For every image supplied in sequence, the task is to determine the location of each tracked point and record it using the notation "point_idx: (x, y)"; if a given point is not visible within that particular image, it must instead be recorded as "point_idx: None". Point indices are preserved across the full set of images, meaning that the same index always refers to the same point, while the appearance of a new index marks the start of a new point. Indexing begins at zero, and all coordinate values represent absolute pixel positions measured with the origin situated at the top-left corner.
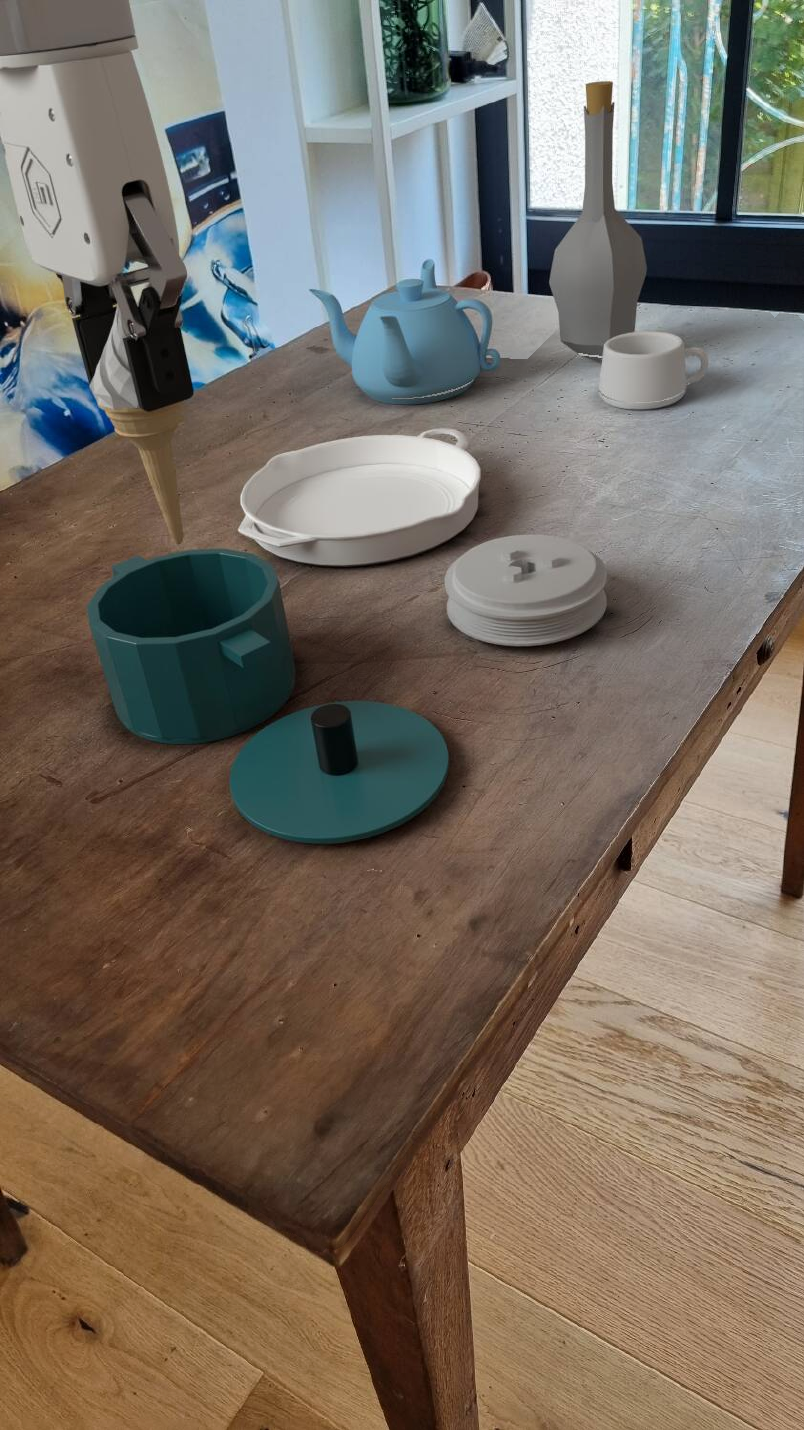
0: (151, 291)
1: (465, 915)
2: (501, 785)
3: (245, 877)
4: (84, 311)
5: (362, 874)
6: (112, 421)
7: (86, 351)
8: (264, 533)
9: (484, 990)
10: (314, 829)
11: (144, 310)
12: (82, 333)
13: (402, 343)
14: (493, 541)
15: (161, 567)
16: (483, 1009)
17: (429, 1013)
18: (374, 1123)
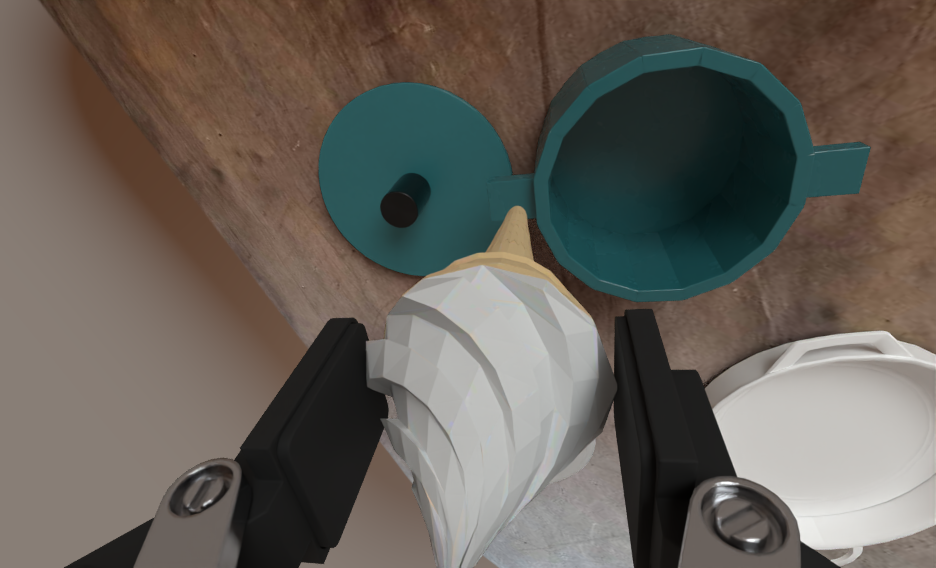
0: None
1: (227, 172)
2: (340, 270)
3: (336, 47)
4: (685, 513)
5: (296, 135)
6: (489, 262)
7: (636, 379)
8: (857, 349)
9: (160, 143)
10: (341, 127)
11: (127, 564)
12: (636, 425)
13: None
14: (580, 457)
15: (782, 202)
16: (145, 133)
17: (151, 100)
18: (73, 16)
